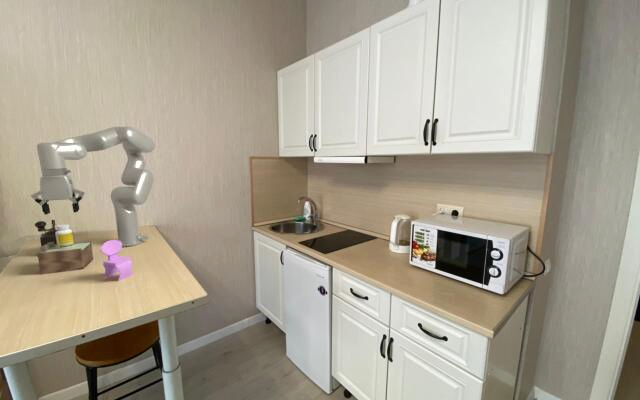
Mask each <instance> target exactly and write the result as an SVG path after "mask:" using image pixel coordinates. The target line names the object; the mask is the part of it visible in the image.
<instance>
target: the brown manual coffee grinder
mask: <svg viewBox="0 0 640 400" xmlns="http://www.w3.org/2000/svg"><path fill="white" fill-rule="evenodd" d="M46 226H47V222H46V221H43V220H40V221H37V222H35V223H34V227H36V228H37V231H38V232H41V235H40V238H39V239H40V247H42V246H44V245H45V244H47V243H49V242H54V244H57V241H56V235H55V232H56V231H58V230H57V228H56V220H55V219H51V228H48V229H46V228H45V227H46ZM43 232H44V233H43Z"/></svg>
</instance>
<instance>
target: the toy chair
mask: <svg viewBox="0 0 640 400" xmlns="http://www.w3.org/2000/svg"><path fill="white" fill-rule="evenodd" d="M121 250H122V243H121V242H120V241H118V239H111V240H107V241H105V242H104V243H103V244H102V245H101V247H100V252H101V254H104V255H105V256H107V258H108V259H107V260H104V261H103V268H104V274H103V276H102V279H106V278H108V277H110V276H113V275H116V274H118V273H119V276H118V279H117V282H120V281H122V280H125V279H127V278H129V277H132V276H133V275H134V274H133V271H132V264H133V262H132V259H131V257H128V256H121V255H118V253H119V252H121Z"/></svg>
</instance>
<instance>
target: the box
mask: <svg viewBox="0 0 640 400" xmlns="http://www.w3.org/2000/svg"><path fill="white" fill-rule="evenodd" d="M88 242H90V244H89V245H88V246H86V247H85V248H84V249H83V250H82V248H81V249H71V250H61V251H52V252H42V253H40V252H38V253H37V261H38V264H39V265H38V266H39V270H40V275H49V274H57V273H65V272H73V271H79V270H84V269H86V267H88V265H89V264H91V262H92V261H94V254H93V246H92V241H91V240H87V241H79V242H77V241H76V242H74V244H78V243H88ZM55 246H57V244H55Z"/></svg>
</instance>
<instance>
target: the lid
mask: <svg viewBox="0 0 640 400" xmlns="http://www.w3.org/2000/svg"><path fill="white" fill-rule="evenodd" d="M89 244H90V242H88V243H78V244H74V246H73V247H70V248H66V249H58V247H57V246H55V244H54V242H49V243H47V244H45V245H44V246H42V247H41V246H40V247H39V249H40V250H39V253H42V252H52V251H61V250H71V249H81V248H82V250H83V249H84V248H85V247H86V246H88V245H89Z"/></svg>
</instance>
